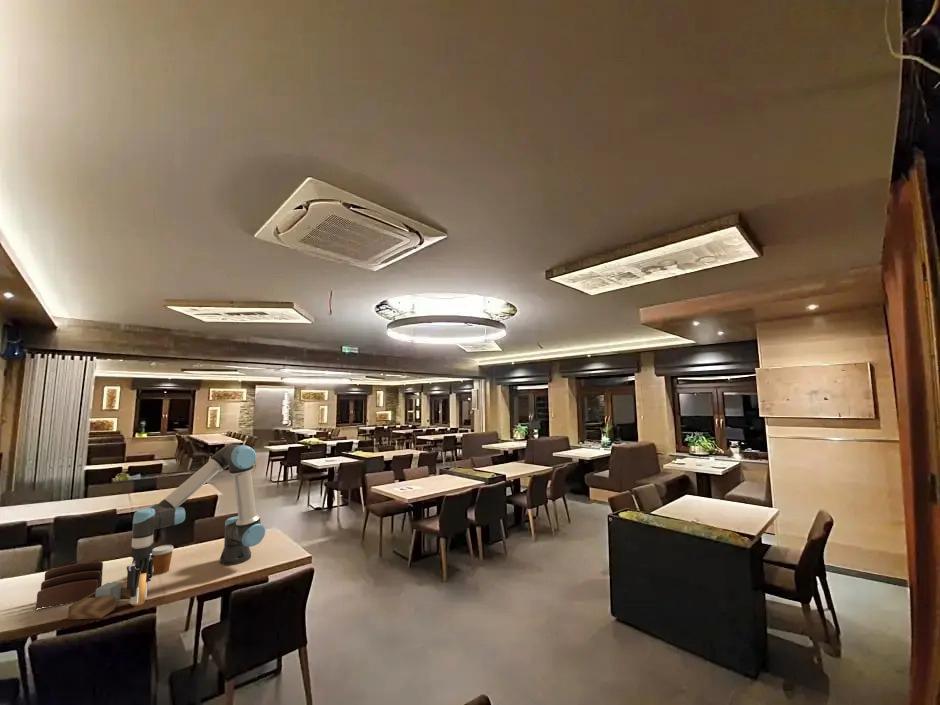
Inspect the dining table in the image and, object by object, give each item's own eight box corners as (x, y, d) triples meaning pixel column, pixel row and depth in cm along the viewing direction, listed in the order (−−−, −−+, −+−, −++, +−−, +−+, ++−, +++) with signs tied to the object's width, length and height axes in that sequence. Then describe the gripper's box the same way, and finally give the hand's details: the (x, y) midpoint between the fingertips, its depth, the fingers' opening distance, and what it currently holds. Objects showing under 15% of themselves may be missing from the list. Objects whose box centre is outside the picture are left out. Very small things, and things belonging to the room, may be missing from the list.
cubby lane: (142, 591, 190) (142, 580, 190) (101, 618, 167) (102, 605, 168) (112, 592, 189) (113, 581, 190) (67, 619, 167) (68, 606, 167)
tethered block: (148, 599, 182) (150, 571, 183) (138, 606, 176) (140, 577, 177) (106, 601, 181) (108, 573, 182) (94, 608, 175) (96, 579, 176)
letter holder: (42, 601, 182) (45, 568, 184) (101, 589, 193) (103, 558, 195) (35, 611, 174) (38, 576, 175) (97, 597, 185) (99, 565, 186)
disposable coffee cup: (160, 576, 206) (161, 551, 207) (144, 575, 207) (146, 550, 209) (177, 568, 215) (178, 545, 216) (162, 567, 217) (163, 544, 218)
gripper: (147, 539, 190) (144, 591, 188) (117, 553, 173) (113, 611, 170) (164, 538, 190) (161, 590, 188) (135, 552, 173) (132, 610, 171)
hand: (138, 600), depth 179 cm, fingers closed on tethered block, 4 cm apart
